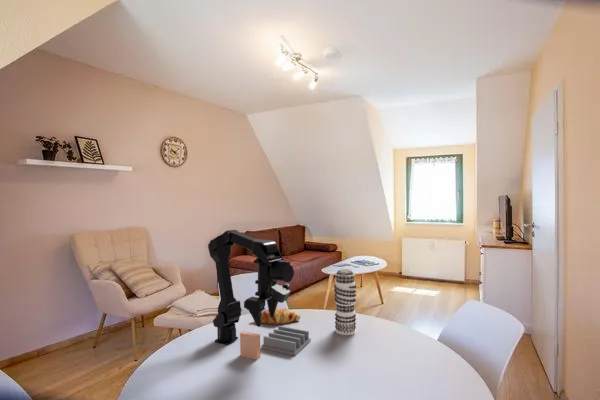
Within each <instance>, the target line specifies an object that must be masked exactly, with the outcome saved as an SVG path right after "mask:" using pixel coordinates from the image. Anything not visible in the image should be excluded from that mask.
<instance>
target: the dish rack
mask: <svg viewBox="0 0 600 400" xmlns="http://www.w3.org/2000/svg"><path fill="white" fill-rule="evenodd" d="M309 335H310V331H308V330H304V329H299V328H293V327H288V326H283V325H277V328H274V329H273V332H268V336H267V335H265V336H264V335H263V339H262V340H263V342H262V344H260V349H264V350H267V351H272V352H276V353H280V354H285V355H290V356H294V357H295V356H297V355H298V354H300V353H301V351H302V350H303V349H304V348H306V347H307V346H308V344H310V342H311V341H312V339H311V338H310V336H309Z"/></svg>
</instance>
